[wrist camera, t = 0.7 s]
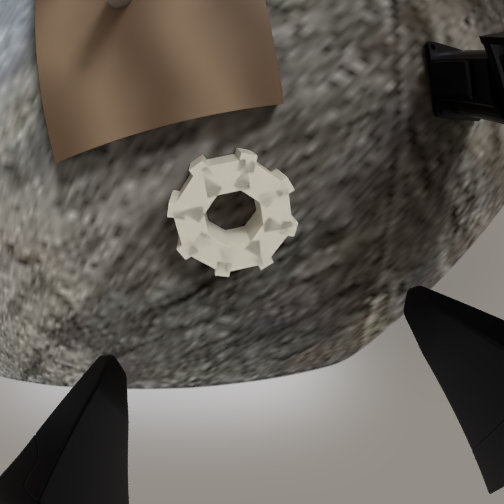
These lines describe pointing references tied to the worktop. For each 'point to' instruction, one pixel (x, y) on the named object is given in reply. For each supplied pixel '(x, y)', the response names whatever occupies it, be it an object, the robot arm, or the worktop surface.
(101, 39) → the gear board
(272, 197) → the loose gear
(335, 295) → the worktop surface
